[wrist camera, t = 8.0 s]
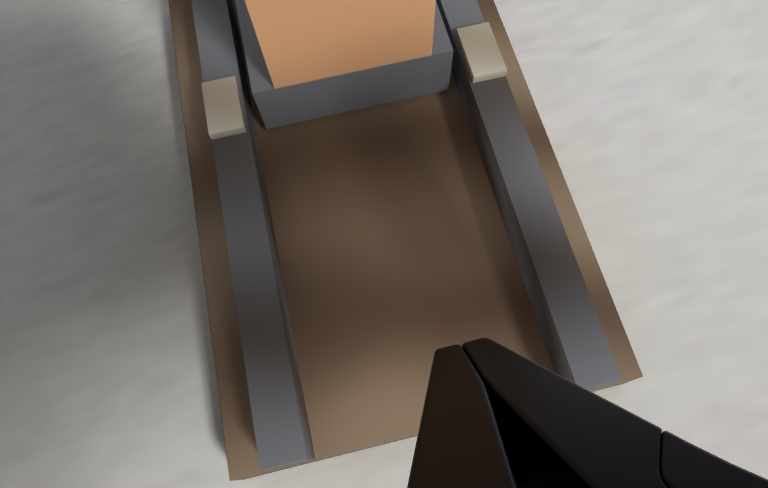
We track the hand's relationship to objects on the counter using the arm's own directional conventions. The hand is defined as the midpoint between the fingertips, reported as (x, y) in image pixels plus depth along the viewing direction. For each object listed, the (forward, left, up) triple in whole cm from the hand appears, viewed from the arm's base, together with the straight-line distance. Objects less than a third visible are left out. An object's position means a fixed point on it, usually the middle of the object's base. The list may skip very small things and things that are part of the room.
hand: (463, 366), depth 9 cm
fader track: (+3, +8, -9) cm, 13 cm away
